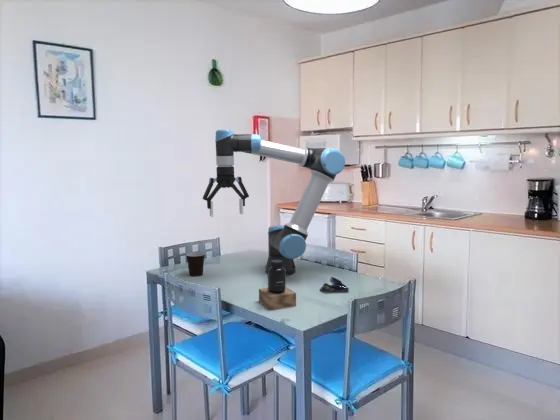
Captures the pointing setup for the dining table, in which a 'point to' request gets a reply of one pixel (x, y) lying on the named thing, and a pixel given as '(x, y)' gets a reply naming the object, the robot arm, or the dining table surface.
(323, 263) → the dining table surface
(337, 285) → the dark blue angular piece
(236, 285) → the dining table surface
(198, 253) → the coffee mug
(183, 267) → the dining table surface
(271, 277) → the supplement bottle
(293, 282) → the dining table surface
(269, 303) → the foundation block
